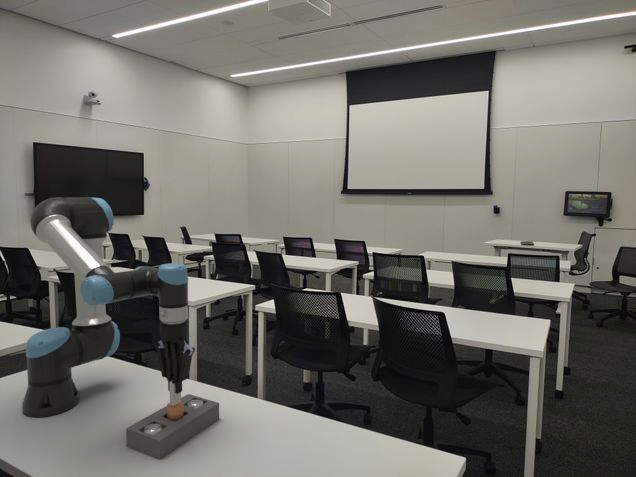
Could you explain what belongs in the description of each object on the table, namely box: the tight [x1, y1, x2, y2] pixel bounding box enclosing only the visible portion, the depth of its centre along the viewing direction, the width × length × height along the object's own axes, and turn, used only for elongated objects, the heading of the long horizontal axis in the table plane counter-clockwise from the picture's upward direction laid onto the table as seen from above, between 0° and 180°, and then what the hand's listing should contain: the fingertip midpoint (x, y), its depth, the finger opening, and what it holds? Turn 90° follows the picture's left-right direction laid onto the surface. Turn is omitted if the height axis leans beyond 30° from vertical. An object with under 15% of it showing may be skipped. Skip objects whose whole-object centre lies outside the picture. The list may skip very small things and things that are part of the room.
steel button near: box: [144, 424, 162, 435], centre depth 118 cm, size 4×4×4 cm
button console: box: [125, 393, 220, 460], centre depth 125 cm, size 12×23×5 cm, turn 153°
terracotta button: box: [166, 402, 184, 421], centre depth 124 cm, size 4×4×4 cm
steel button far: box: [188, 400, 203, 409], centre depth 132 cm, size 4×4×4 cm
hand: (175, 402), depth 124 cm, fingers closed
